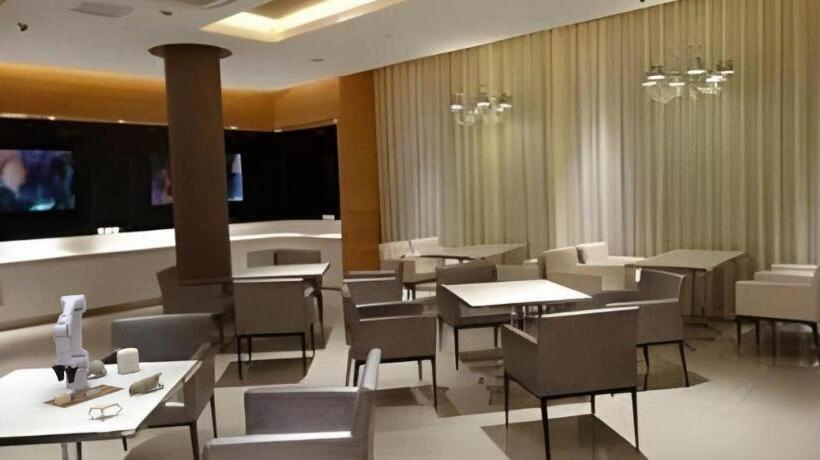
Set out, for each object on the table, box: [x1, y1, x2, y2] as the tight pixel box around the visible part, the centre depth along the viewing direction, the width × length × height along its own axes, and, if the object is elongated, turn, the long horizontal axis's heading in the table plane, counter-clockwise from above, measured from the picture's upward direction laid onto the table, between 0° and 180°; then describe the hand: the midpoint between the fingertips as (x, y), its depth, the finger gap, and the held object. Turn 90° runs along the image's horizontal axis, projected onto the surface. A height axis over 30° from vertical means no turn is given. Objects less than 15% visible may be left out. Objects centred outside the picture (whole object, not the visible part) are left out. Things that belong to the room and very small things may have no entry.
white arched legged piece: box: [88, 402, 124, 421], centre depth 276 cm, size 12×8×5 cm
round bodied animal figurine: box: [87, 359, 108, 379], centre depth 335 cm, size 7×12×8 cm, turn 116°
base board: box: [42, 384, 126, 409], centre depth 303 cm, size 17×29×1 cm, turn 148°
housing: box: [72, 385, 101, 399], centre depth 304 cm, size 10×7×3 cm
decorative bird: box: [128, 371, 165, 397], centre depth 308 cm, size 5×16×8 cm, turn 140°
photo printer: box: [116, 347, 140, 375], centre depth 343 cm, size 10×4×12 cm, turn 123°
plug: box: [53, 392, 74, 405], centre depth 295 cm, size 8×4×3 cm, turn 149°
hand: (66, 381), depth 297 cm, fingers open, 7 cm apart
